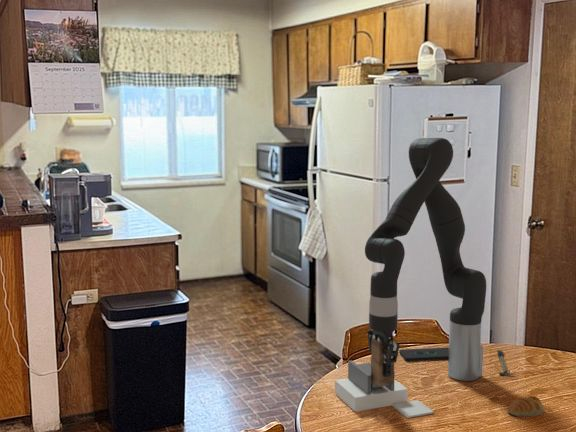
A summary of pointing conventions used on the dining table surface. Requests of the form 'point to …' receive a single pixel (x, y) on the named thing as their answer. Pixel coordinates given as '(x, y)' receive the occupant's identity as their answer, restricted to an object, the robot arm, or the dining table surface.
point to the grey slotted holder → (367, 390)
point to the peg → (379, 365)
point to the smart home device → (425, 354)
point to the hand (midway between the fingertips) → (382, 372)
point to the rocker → (368, 369)
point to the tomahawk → (503, 364)
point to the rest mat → (412, 409)
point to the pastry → (526, 407)
